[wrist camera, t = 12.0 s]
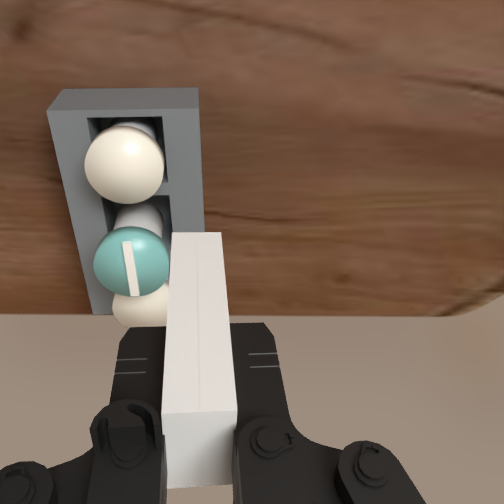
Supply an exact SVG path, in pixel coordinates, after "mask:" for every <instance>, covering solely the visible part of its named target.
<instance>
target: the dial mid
mask: <svg viewBox="0 0 504 504" xmlns="http://www.w3.org/2000/svg"><path fill="white" fill-rule="evenodd" d="M162 231H163V216H162V213H161V211H160V210H159V209H158V208H157V207H156V206H155V205H154V204H152V203H150V202H148V201H142V202H139V203H134V204H124V205H123V206H121V208H120V209H119V211H118V213H117V217H116V221H115V224H114V228H113V230H112V231H110V232H109V233H107V234H106V235H105V236H104V237H103V238H102V239H101V241H100V243H99V245H98V248H97V251H96V254H95V258H94V262H93V267H94V272H95V275H96V277H97V279H98V280H99V282H100V283H101V284H102V285H103V286H104V287H105V288H107V289H108V290H110V291H112V292H114V293H116V294H119V295H123V296H129V297H139V296H145V295H148V294H151V293H153V292H155V291H156V290H158V289H159V288H160V287H161V286H162V285H163V284H164V283H165V281H166V279H167V277H168V274H169V263H170V254H169V250H168V247H167V245H166V243H165V242H164V241H163V239H162Z"/></svg>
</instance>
